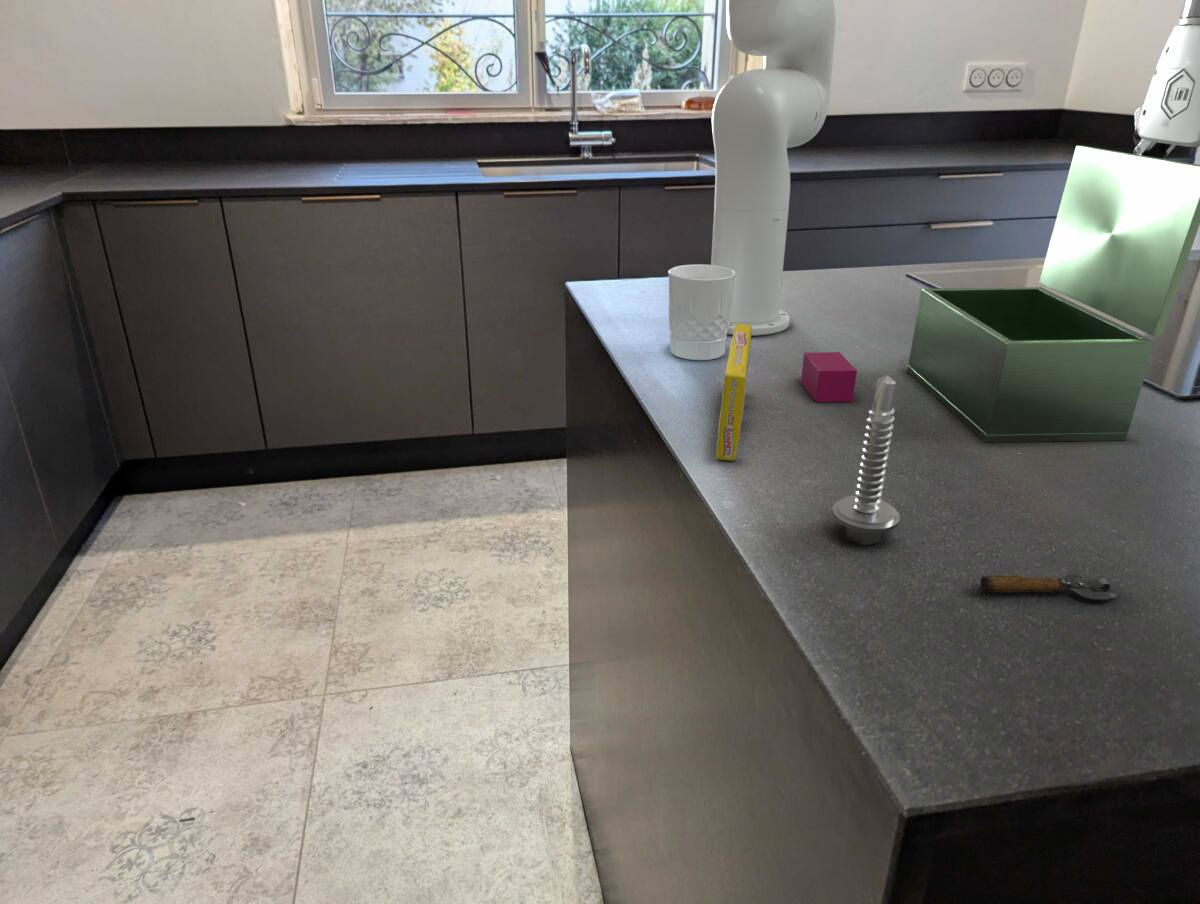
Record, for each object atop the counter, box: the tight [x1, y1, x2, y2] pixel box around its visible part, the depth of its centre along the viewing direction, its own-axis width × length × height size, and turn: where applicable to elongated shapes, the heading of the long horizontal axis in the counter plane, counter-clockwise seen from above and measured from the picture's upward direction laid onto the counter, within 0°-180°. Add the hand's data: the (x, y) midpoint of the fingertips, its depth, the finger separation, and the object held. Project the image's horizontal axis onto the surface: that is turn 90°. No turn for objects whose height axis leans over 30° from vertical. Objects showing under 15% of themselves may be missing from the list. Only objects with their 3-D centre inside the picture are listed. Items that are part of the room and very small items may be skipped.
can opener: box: [980, 573, 1122, 601], centre depth 56 cm, size 9×2×1 cm, turn 83°
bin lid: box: [1038, 145, 1200, 337], centre depth 80 cm, size 14×20×6 cm
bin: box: [906, 286, 1156, 444], centre depth 85 cm, size 14×20×10 cm
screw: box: [831, 374, 901, 547], centre depth 60 cm, size 13×5×5 cm
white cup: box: [668, 263, 735, 361], centre depth 100 cm, size 8×8×10 cm
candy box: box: [715, 324, 752, 462], centre depth 79 cm, size 16×2×8 cm, turn 168°
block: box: [800, 351, 858, 403], centre depth 89 cm, size 4×6×4 cm, turn 2°
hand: (1173, 209), depth 79 cm, fingers open, 9 cm apart
